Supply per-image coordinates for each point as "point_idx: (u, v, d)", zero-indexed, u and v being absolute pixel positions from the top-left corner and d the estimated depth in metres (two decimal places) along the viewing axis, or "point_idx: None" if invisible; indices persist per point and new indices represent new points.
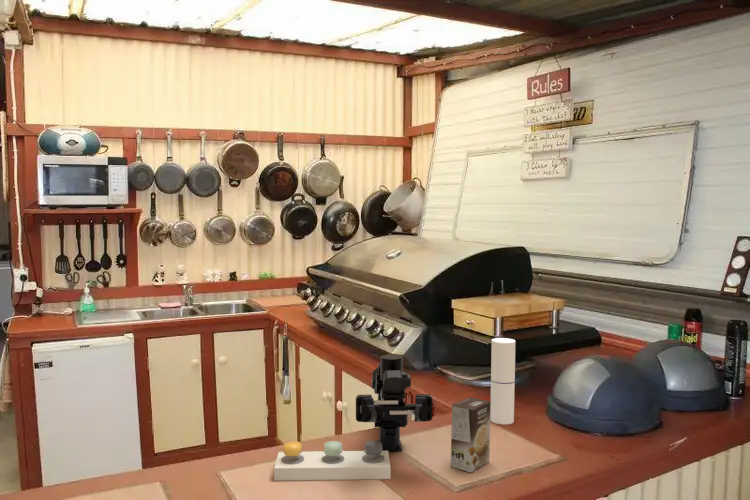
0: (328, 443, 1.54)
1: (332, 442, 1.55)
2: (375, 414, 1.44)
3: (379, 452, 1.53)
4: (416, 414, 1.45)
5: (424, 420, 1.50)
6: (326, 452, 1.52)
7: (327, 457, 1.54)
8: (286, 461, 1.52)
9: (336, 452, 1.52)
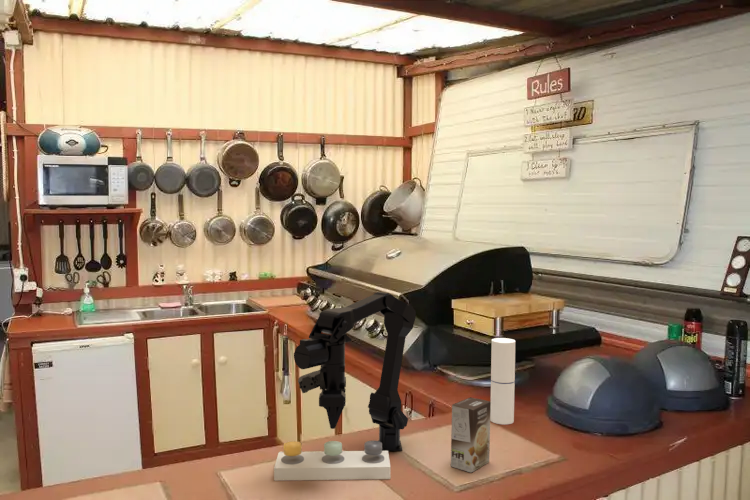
0: (328, 443, 1.54)
1: (332, 442, 1.55)
2: None
3: (379, 452, 1.53)
4: (329, 423, 1.50)
5: None
6: (326, 452, 1.52)
7: (327, 457, 1.54)
8: (286, 461, 1.52)
9: (336, 452, 1.52)
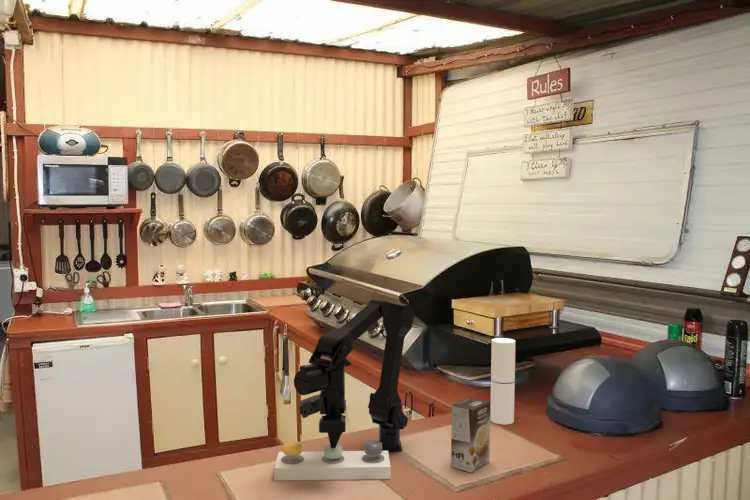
0: (328, 446, 1.54)
1: None
2: None
3: (379, 452, 1.53)
4: (330, 443, 1.53)
5: None
6: (326, 455, 1.52)
7: None
8: (286, 461, 1.52)
9: (336, 455, 1.52)
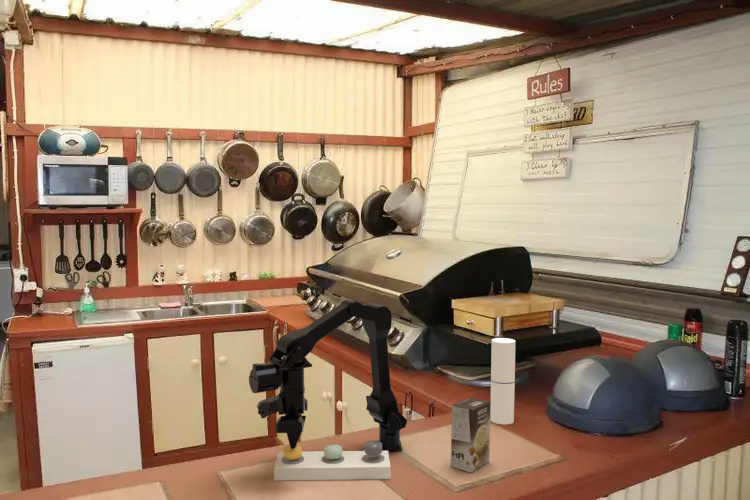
0: (328, 446, 1.54)
1: (332, 445, 1.55)
2: None
3: (379, 452, 1.53)
4: (289, 443, 1.53)
5: None
6: (326, 455, 1.52)
7: None
8: (286, 461, 1.52)
9: (336, 455, 1.52)
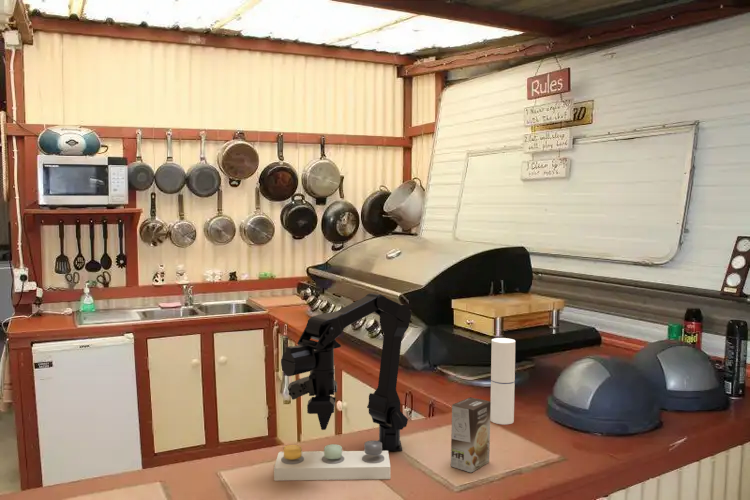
0: (328, 446, 1.54)
1: (332, 445, 1.55)
2: None
3: (379, 452, 1.53)
4: (320, 425, 1.53)
5: None
6: (326, 455, 1.52)
7: None
8: (286, 461, 1.52)
9: (336, 455, 1.52)
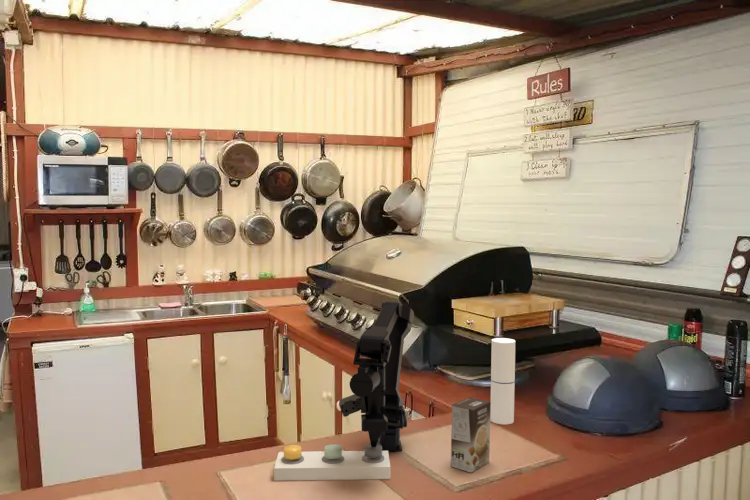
0: (328, 446, 1.54)
1: (332, 445, 1.55)
2: None
3: (379, 455, 1.53)
4: (370, 442, 1.54)
5: None
6: (326, 455, 1.52)
7: None
8: (286, 461, 1.52)
9: (336, 455, 1.52)
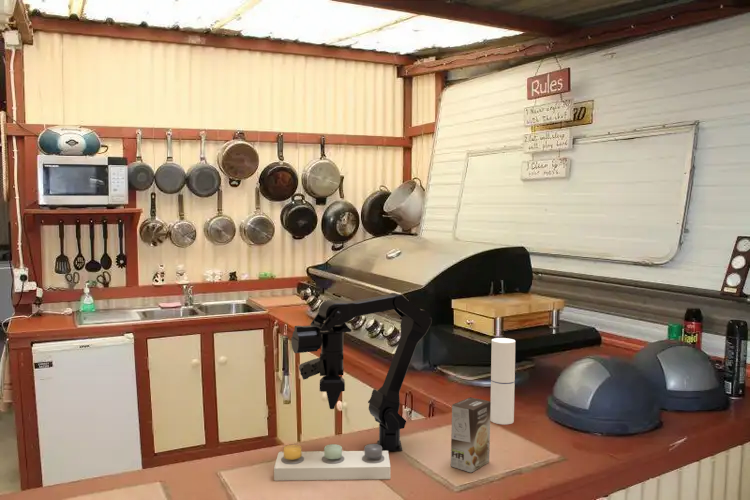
0: (328, 446, 1.54)
1: (332, 445, 1.55)
2: None
3: (379, 455, 1.53)
4: (329, 404, 1.61)
5: None
6: (326, 455, 1.52)
7: None
8: (286, 461, 1.52)
9: (336, 455, 1.52)
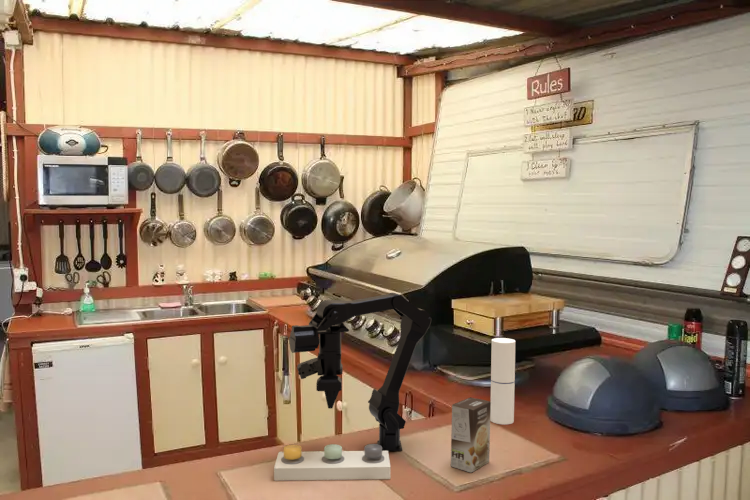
0: (328, 446, 1.54)
1: (332, 445, 1.55)
2: None
3: (379, 455, 1.53)
4: (327, 403, 1.62)
5: None
6: (326, 455, 1.52)
7: None
8: (286, 461, 1.52)
9: (336, 455, 1.52)
